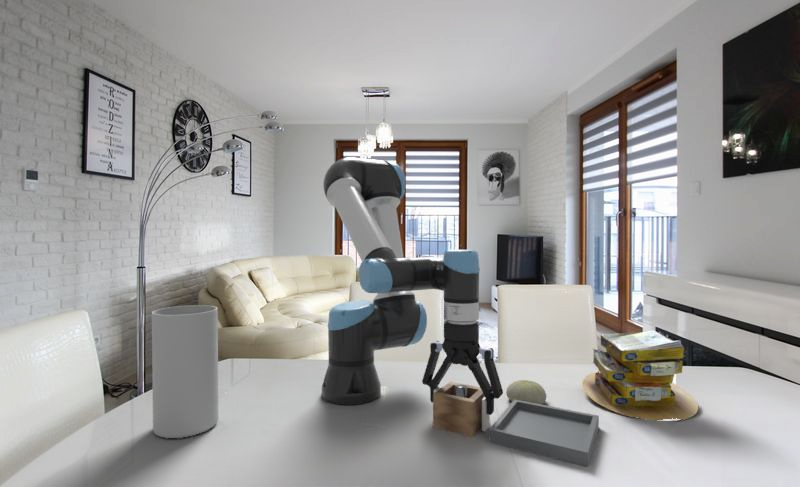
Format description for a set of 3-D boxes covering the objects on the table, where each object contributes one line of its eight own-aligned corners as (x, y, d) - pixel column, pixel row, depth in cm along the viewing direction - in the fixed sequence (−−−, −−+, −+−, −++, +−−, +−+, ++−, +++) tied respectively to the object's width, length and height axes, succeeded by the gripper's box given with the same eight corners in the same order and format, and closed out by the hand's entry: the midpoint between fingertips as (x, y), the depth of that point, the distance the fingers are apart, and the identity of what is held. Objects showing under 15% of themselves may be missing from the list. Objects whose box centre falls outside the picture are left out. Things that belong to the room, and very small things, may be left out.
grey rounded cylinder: (452, 424, 93) (453, 387, 92) (457, 419, 95) (457, 383, 95) (464, 427, 91) (464, 389, 91) (468, 422, 94) (468, 386, 93)
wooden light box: (433, 426, 91) (433, 394, 91) (454, 408, 101) (454, 378, 101) (473, 436, 87) (473, 402, 87) (491, 416, 97) (491, 385, 97)
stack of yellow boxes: (718, 426, 91) (719, 349, 91) (593, 415, 97) (594, 342, 97) (673, 387, 115) (673, 325, 115) (574, 380, 121) (575, 321, 121)
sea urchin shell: (552, 402, 100) (527, 376, 101) (527, 424, 101) (503, 398, 102) (547, 388, 109) (524, 365, 110) (524, 408, 110) (501, 385, 111)
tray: (488, 441, 85) (489, 429, 85) (514, 409, 100) (514, 399, 100) (587, 466, 76) (587, 452, 76) (598, 427, 91) (598, 415, 91)
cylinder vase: (231, 418, 95) (230, 306, 95) (186, 444, 84) (185, 317, 83) (187, 411, 100) (186, 304, 99) (138, 434, 88) (137, 313, 87)
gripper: (406, 318, 95) (406, 417, 96) (508, 329, 84) (508, 442, 84) (422, 313, 102) (422, 406, 102) (519, 323, 90) (518, 427, 90)
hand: (461, 422), depth 93 cm, fingers open, 10 cm apart
